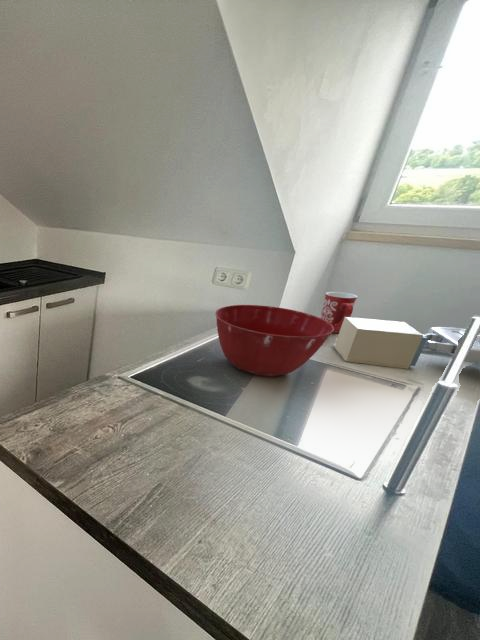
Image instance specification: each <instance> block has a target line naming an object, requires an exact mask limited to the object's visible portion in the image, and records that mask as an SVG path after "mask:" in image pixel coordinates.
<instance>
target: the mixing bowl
mask: <svg viewBox="0 0 480 640" xmlns="http://www.w3.org/2000/svg"><path fill="white" fill-rule="evenodd" d="M214 314H215V315H214V316H215V320H216V327H217V329H216V330H217V335H218V341H219V344H220V347H221V350H222V353H223V355H224V357H225V358H226V359H227V361H228V362H229V363H230V364H231V365H233V366H234V367H235V368H237V370H240V371H242V372H245V373H248V374H251V375H255V376H261V377H279V376H283V375H287V374H289V373H292V372H296V370H298V369H299V368H301V367H302V366H303V365H304V364H306V363H307V362H308V361H309V360H310V359H311V358H312V357H313V356H314V355H315V354H316V353H317V352H318V351H319V350H320V348H321V347H322V346H323V344H324V343H325V342H326V341H327V339H328V338H329V336H330V335H331V334H333V333H332V332H333V331H334V327H333V326H332V325H331V324H330V323H329V322H327V321H325V320H323V319H321V318H320V317H319V316H316V315H313V314H311V313H310V314H309V313H306V312H303V311H298V310H296V309H295V310H294V309H289V308H283V307H277V306H269V305H258V304H234V305H233V304H232V305H227V306H223V307H220V308H218V309H216V311H215V313H214Z"/></svg>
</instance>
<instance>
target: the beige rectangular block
mask: <svg viewBox="0 0 480 640" xmlns="http://www.w3.org/2000/svg"><path fill="white" fill-rule="evenodd" d="M423 334H424V333H421V332H420V331H418V330H417V329H415V328H414V327H412V326H411V325H410V324H408V323H407V322H405V321H398V320H388V319H387V320H385V319H374V318H362V317H352V316H350V317H345V318H344V321H343V324H342V326H341V329H340V332H339V333H338V335H337V338H336V341H335V344H334V349H335V350H336V352H337V353H338V354H339V355H340V356H341V357H342V359H343V360H344V361H345V362H347V363H348V362H349V363H357V364H364V365H373V366H374V365H375V366H383V367H389V368H397V369H406V370H409V368H410V367H411V366H410V364H411V362H412V360H413V358H414V355H415V353H416V351H417V349H418V346H419V344H420V342H421V340H422V337H423Z"/></svg>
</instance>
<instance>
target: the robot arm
mask: <svg viewBox="0 0 480 640" xmlns="http://www.w3.org/2000/svg"><path fill="white" fill-rule="evenodd" d="M466 329H467V328H463V327H450V326H433V327H429V329H428V331H427V333H422V334H423V335H424V336H425V337H427V338H428V339H427V340H428V341H427V342H426V344H425V346H426V347H428V348H432V349H437V350H436V351H443V352H446V353H448V354H449V355H451V356H452V357H454V354H455V352H456V350H457V347H458V340H459V339H460V338H461V337H462V336H463V335H464V333H465V330H466ZM463 362H466V363H478V364H479V363H480V333H479V334H478V335H477V338H476V340H475V342H474V344H473V346H472V348H471V350H470V351H469V352H468V355H467V356H466V358H465V360H464V361H463Z"/></svg>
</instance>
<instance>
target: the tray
mask: <svg viewBox="0 0 480 640" xmlns="http://www.w3.org/2000/svg"><path fill="white" fill-rule="evenodd" d="M427 339H428V338H427V337H425V336H424V335H423V337H422V340H421V342H420V344H419V346H418V349H417V351H416V353H415V355H414V358H413V360H412V362H411V364H410V366H409V367H411V366H412V367H415V366H416V365H417V363H418V361H419V358H420V356H421V354H422V351H423V349H428V350H430V351H431V352H436V351H438V350H437V349H432V348H428V347H426V346H425V344H426V342H427V341H428V340H427Z"/></svg>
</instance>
